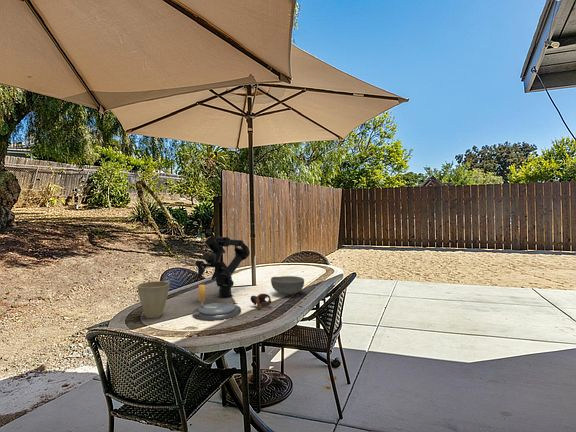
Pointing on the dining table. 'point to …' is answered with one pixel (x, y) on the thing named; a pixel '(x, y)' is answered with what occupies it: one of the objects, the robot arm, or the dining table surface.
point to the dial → (213, 305)
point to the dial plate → (216, 317)
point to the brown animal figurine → (261, 300)
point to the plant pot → (153, 297)
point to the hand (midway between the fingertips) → (205, 278)
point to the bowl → (287, 284)
